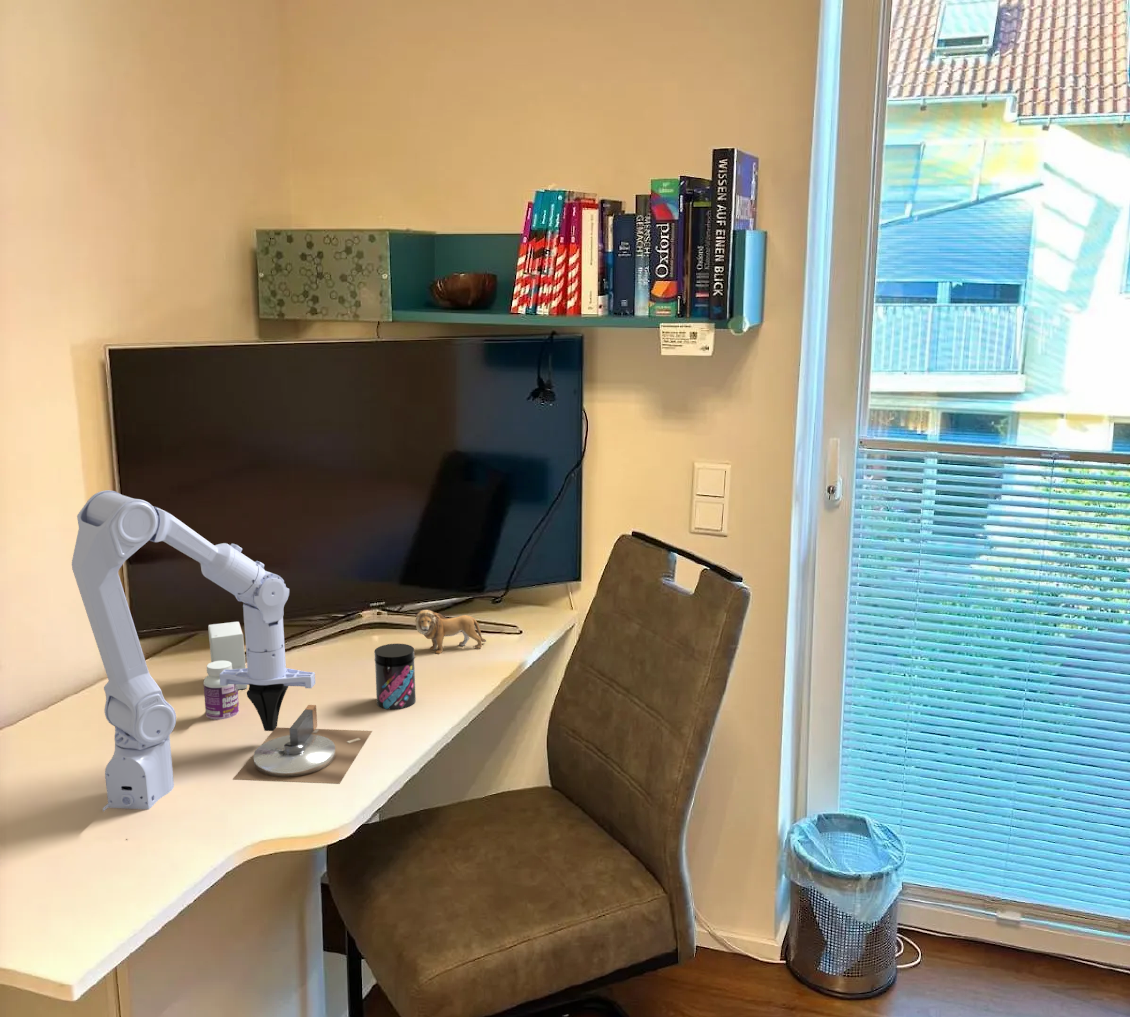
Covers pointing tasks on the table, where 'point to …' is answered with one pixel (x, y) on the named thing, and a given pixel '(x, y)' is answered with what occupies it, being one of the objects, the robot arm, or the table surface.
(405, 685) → the supplement container
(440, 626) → the lion figurine
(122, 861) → the table surface
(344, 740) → the dial board
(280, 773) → the dial
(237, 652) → the small box
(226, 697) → the pill bottle
